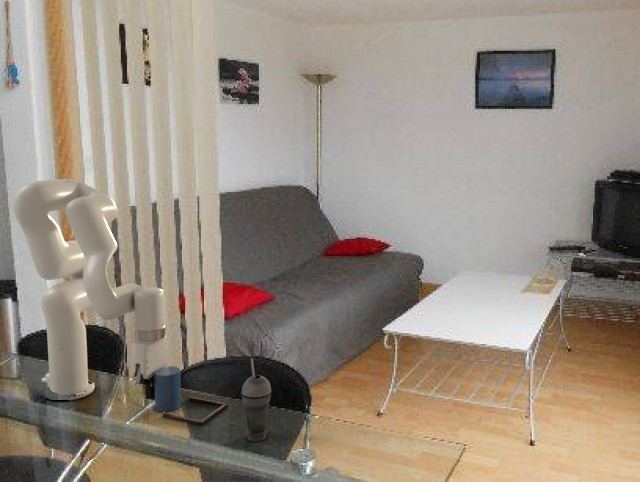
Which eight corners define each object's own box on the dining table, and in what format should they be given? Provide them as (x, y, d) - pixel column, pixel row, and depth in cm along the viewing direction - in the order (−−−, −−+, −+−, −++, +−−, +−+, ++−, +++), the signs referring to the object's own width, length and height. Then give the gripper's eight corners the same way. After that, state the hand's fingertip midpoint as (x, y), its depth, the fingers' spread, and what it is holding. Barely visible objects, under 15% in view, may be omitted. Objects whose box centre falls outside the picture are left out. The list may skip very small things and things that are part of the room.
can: (149, 409, 162) (148, 373, 161) (166, 399, 168) (165, 364, 167) (170, 413, 160) (169, 377, 159) (186, 403, 166) (185, 368, 165)
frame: (162, 417, 158) (162, 414, 157) (191, 399, 169) (191, 396, 169) (201, 425, 154) (201, 422, 154) (228, 406, 165) (228, 403, 165)
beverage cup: (264, 445, 145) (264, 365, 142) (236, 442, 146) (235, 362, 143) (276, 431, 152) (276, 355, 149) (249, 428, 153) (248, 352, 150)
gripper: (157, 324, 171) (159, 385, 174) (118, 340, 157) (121, 407, 160) (180, 327, 169) (181, 389, 171) (142, 344, 155) (144, 412, 157)
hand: (152, 398), depth 165 cm, fingers closed
